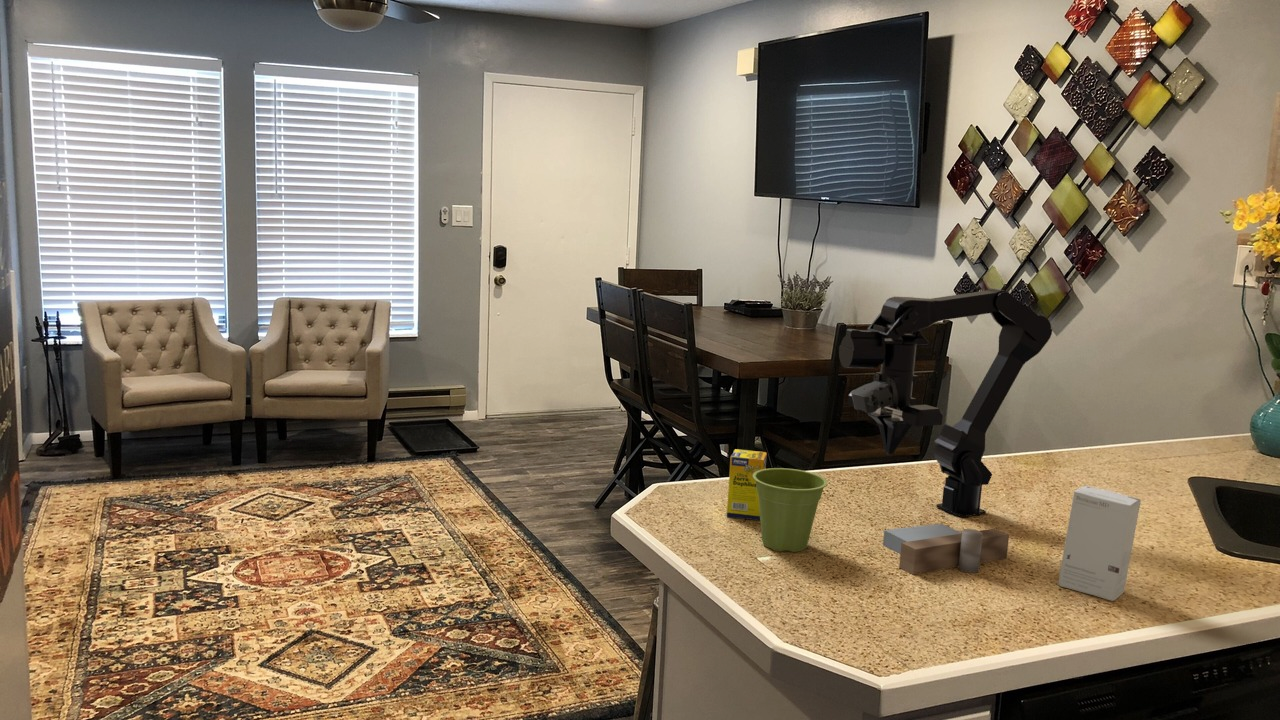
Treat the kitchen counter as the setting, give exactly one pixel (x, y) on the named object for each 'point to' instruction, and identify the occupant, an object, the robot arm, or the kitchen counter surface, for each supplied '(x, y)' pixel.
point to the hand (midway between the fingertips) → (889, 453)
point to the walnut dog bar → (954, 551)
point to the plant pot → (787, 506)
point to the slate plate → (914, 535)
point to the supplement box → (744, 484)
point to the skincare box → (1099, 542)
